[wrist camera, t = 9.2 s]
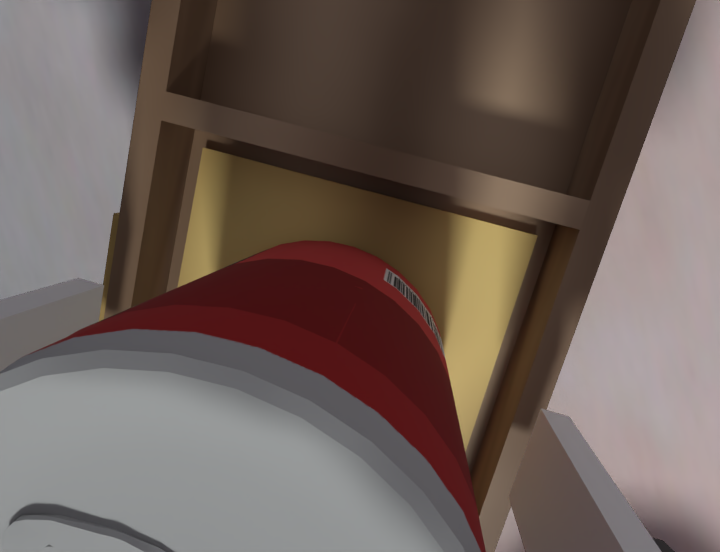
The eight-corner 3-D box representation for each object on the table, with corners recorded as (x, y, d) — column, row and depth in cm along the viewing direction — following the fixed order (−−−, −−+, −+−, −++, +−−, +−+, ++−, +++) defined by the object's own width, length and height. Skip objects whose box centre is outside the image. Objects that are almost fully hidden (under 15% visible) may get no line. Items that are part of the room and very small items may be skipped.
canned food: (232, 212, 16) (-138, 268, 5) (471, 269, 16) (607, 460, 5) (196, 420, 18) (-144, 796, 7) (413, 478, 17) (417, 978, 6)
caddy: (78, 696, 22) (27, 775, 19) (255, -355, 14) (214, -499, 11) (375, 794, 21) (369, 892, 18) (741, -255, 13) (835, -380, 10)
